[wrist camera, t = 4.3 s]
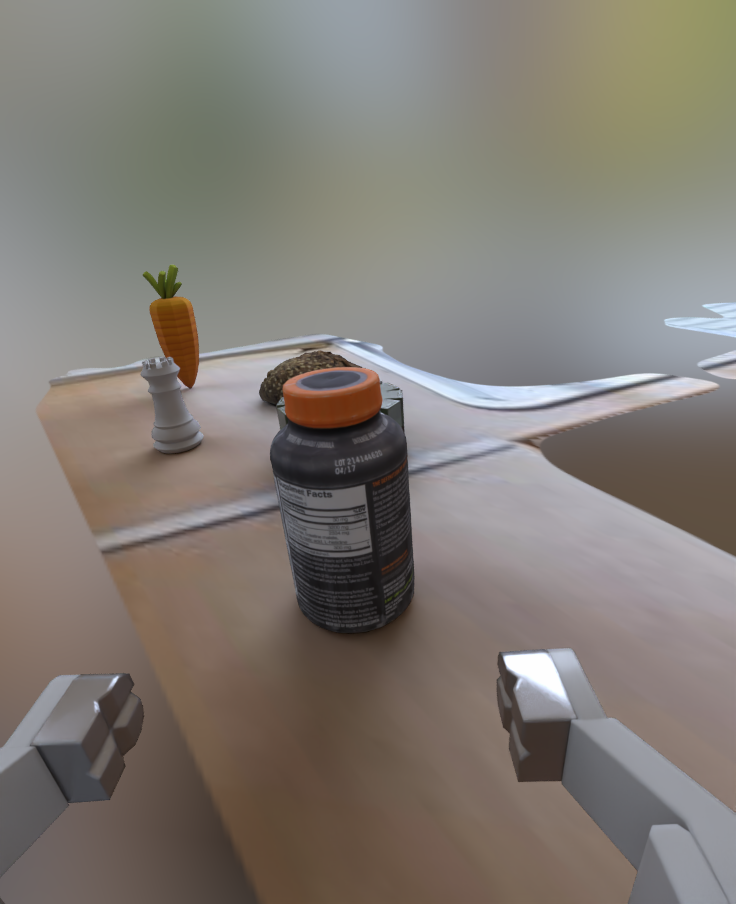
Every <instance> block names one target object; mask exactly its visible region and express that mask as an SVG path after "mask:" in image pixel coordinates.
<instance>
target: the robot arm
mask: <svg viewBox="0 0 736 904" xmlns="http://www.w3.org/2000/svg"><path fill="white" fill-rule="evenodd" d="M497 665H498V668H499V672H500V675H501V676H500V677H499V678H498V679H497V701H498V708H499V713H500V717H501V721H502V725H503V728H505V729H506V730H507V731H508V732H509V733H510V737H509V751H510V754H511V758H512V761H513V765H514V768H515V772H516V776H517V779H518V782H536V781H562V783H561V784H562V785H563V786H564V787H565V788H566V789H567V790H568V792H569V793H570V794H571V795H572V796H573V797H574V799H575V800H576V801H577V802H578V803H579V804H580V805H581V807H582V808H583V809H584V810H585V811H586V812H587V813H588V815H589V816H590V817H591V818H592V819H593V820H594V821H595V823H596V824H597V825H598V826H599V827H600V828H601V830H602V831H603V832H604V833H605V834H606V835H607V836H608V838H609V839H610V840H611V841H612V842H613V843H614V844H615V846H616V847H617V848H618V849H619V850H620V851H621V852H622V854H623V855H624V856H625V857H626V858H627V859H628V861H629V862H630V863H631V864H632V865H633V866H634V867H635V869H636V870H637V871H638V872H637V876H636V879H635V882H634V885H633V889H632V892H631V895H630V898H629V902H628V904H736V813H735V812H734V811H732V810H731V809H730V808H728V807H727V806H726V805H725V804H723V803H722V802H721V801H720V800H718V799H717V798H716V797H715V796H713V795H712V794H711V793H709V792H708V791H707V790H706V789H704V788H703V787H702V786H701V785H699V784H698V783H697V782H696V781H694V780H693V779H692V778H690V777H689V776H688V775H687V774H685V773H684V772H683V771H682V770H680V769H679V768H678V767H676V766H675V765H674V764H673V763H671V762H670V761H669V760H668V759H666V758H665V757H664V756H663V755H661V754H660V753H659V752H657V751H656V750H655V749H654V748H652V747H651V746H650V745H649V744H647V743H646V742H645V741H644V740H642V739H641V738H640V737H638V736H637V735H636V734H635V733H633V732H632V731H631V730H630V729H628V728H627V727H626V726H625V725H623V724H622V723H621V722H619V721H618V720H617V719H616V718H607V716H606V714H605V712H604V710H603V708H602V706H601V704H600V702H599V700H598V698H597V696H596V694H595V692H594V690H593V688H592V686H591V684H590V682H589V680H588V678H587V676H586V674H585V672H584V670H583V668H582V666H581V664H580V662H579V660H578V658H577V656H576V654H575V652H574V651H573V650H572V649H571V648H561V649H546V650H545V649H539V650H524V651H509V652H499V655H498V664H497ZM133 686H134V682H133V681H132V678H131V676H130V674H125V673H120V674H81V675H60V676H57V677H56V678H55V679H53V680H52V681H51V682H50V683H49V684H48V686H47V687H46V688H45V690H44V691H43V692H42V694H41V695H40V697H39V698H38V699H37V701H36V702H35V704H34V705H33V706H32V708H31V709H30V710H29V712H28V713H27V715H26V716H25V717H24V719H23V720H22V721H21V723H20V724H19V726H18V727H17V728H16V730H15V731H14V733H13V734H12V735H11V737H10V738H9V740H8V741H7V742H6V744H5V745H4V746H3V748H0V877H2V876H3V874H4V873H5V872H6V871H7V870H8V869H9V868H10V867H11V866H12V865H13V864H14V863H15V862H16V860H18V859H19V858H20V857H21V856H22V855H23V854H24V852H25V851H26V850H27V849H28V848H29V847H30V846H31V845H32V844H33V843H34V842H35V841H36V840H37V839H38V838H39V837H40V835H42V834H43V832H44V831H45V830H46V829H47V828H48V827H49V826H50V825H51V824H52V823H53V822H54V821H55V820H56V819H57V818H58V817H59V816H60V815H61V814H62V812H63V811H64V810H65V809H66V808H67V807H68V806H69V804H68V803H74V802H88V801H102V800H110V798H111V796H112V794H113V792H114V789H115V788H116V786H117V783H118V781H119V779H120V777H121V775H122V773H123V770H124V768H125V763H124V757H123V756H124V755H125V754H126V753H127V752H128V751H129V750H130V749H131V748H133V747H134V746H135V744H136V742H137V740H138V738H139V735H140V733H141V730H142V724H143V719H144V711H143V705H142V702H141V699H140V698H139V697H138V696H136V695H135V694H133V693H132V692H131V690H132V688H133Z"/></svg>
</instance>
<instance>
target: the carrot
mask: <svg viewBox="0 0 736 904" xmlns="http://www.w3.org/2000/svg"><path fill="white" fill-rule="evenodd" d="M177 271H178V268H177V267H176V266H175V265H170V266H169V270H168V275H167V280H166V276H165V275H166V273H165V272H164V271H161V272H160V273H159V277H158V284H157V282H156V281H155V279H154V278H153V277H152V276H151V274H149V273H148V272H144V274H143V276H144V277H145V278H146V279H147V280H148V281H149V283H150V284H151V285H152V286H153V287H154V289H155V290H156V291H157V293H158V294H159V295H160V296H161V299H158V300H155V301H154V302H152V303H151V305H150V314H151V318H152V321H153V325H154V328H155V331H156V334H157V337H158V340H159V344H160V346H161V348H162V350H163V352H164V355H165V357H166V359H167V357H172V358H173V361H174V363H175V364H176V365H177V366H178V367H180V370H179V372H178V375H177V377H178V378H179V379H180V380H181V381H182V382H183V384H184V385H185V386H187V387H189V388H192V386H193V385H194V383H195V380H196V376H197V372H198V365H199V344H198V334H197V328H196V322H195V317H194V312H193V307H192V304H191V302H190V301H189V300H187V299H186V298H183V297H173V296H174V295H175V293H176V292H177V290H178V289H179V288H180V286H181V285H182V284H181V282H178V283H176V284H175V285H174V283H175V279H176V276H177ZM167 361H168V360H167Z"/></svg>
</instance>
